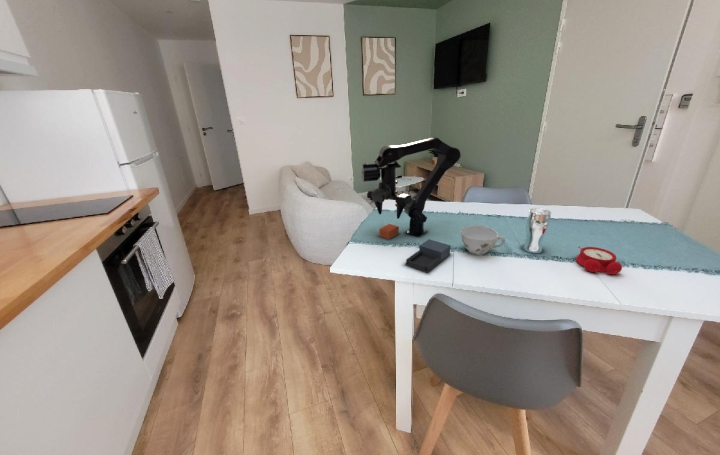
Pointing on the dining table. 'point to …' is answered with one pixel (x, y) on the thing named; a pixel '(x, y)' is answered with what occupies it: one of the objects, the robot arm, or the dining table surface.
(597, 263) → the alarm clock
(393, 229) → the orange block
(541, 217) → the beer glass
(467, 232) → the teacup
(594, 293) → the dining table surface
